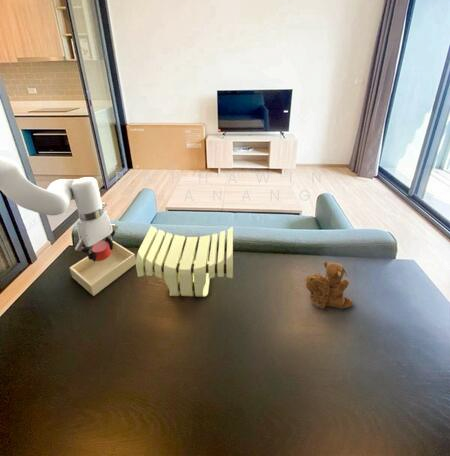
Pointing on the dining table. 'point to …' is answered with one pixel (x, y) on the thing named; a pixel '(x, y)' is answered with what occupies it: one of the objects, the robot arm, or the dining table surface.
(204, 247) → the slatted curved stool
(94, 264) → the bin
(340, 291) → the stuffed squirrel
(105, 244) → the disc
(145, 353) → the dining table surface
